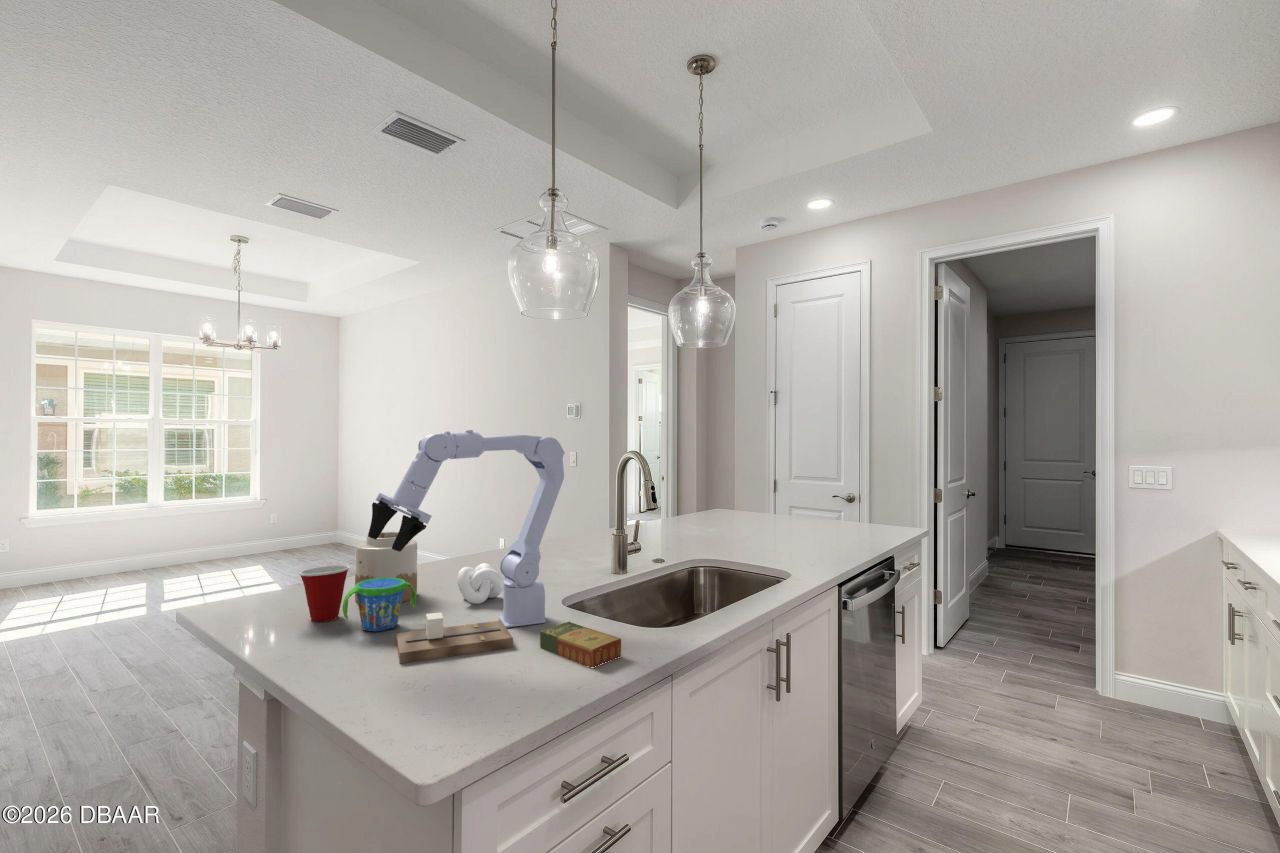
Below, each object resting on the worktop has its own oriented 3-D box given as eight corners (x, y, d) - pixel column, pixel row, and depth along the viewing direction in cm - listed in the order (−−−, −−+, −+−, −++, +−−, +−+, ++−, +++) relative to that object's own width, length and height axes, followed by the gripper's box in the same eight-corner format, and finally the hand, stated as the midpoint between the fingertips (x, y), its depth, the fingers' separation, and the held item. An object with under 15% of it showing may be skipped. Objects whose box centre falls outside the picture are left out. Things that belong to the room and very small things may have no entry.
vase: (403, 606, 153) (403, 540, 153) (343, 605, 154) (344, 540, 154) (425, 590, 169) (425, 530, 169) (371, 589, 169) (371, 529, 169)
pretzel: (508, 593, 166) (508, 561, 166) (498, 607, 154) (498, 571, 154) (466, 593, 166) (467, 561, 166) (453, 606, 154) (454, 571, 154)
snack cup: (410, 615, 146) (410, 573, 146) (421, 627, 137) (421, 583, 137) (339, 626, 138) (339, 582, 138) (345, 640, 129) (346, 593, 129)
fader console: (501, 629, 137) (501, 619, 137) (512, 647, 126) (512, 636, 126) (396, 642, 128) (396, 631, 128) (399, 663, 117) (399, 651, 117)
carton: (591, 671, 115) (591, 649, 115) (538, 649, 126) (538, 629, 126) (621, 658, 121) (621, 637, 121) (568, 639, 132) (568, 619, 132)
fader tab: (440, 631, 128) (441, 612, 128) (443, 637, 124) (443, 617, 124) (425, 633, 126) (426, 614, 126) (427, 639, 123) (427, 619, 123)
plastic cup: (334, 608, 151) (334, 560, 151) (358, 616, 145) (359, 566, 145) (289, 619, 142) (289, 569, 142) (313, 628, 136) (314, 575, 136)
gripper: (380, 469, 129) (347, 527, 126) (426, 489, 123) (393, 551, 119) (402, 479, 135) (371, 536, 132) (448, 499, 129) (417, 559, 125)
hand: (383, 544), depth 126 cm, fingers open, 7 cm apart
